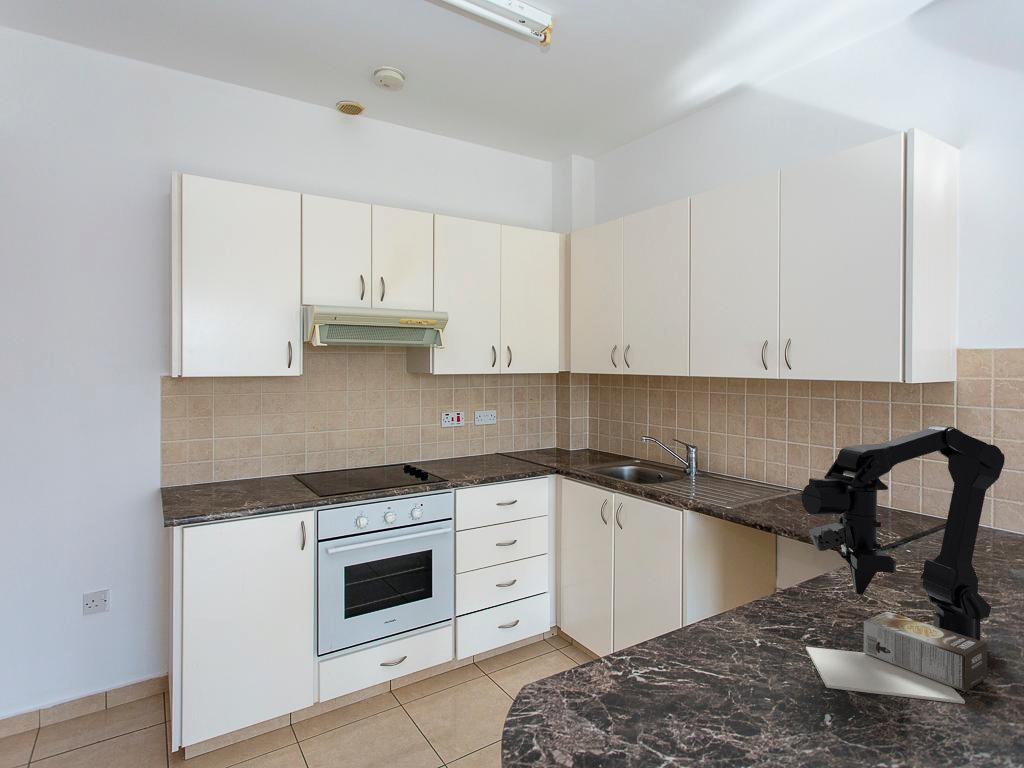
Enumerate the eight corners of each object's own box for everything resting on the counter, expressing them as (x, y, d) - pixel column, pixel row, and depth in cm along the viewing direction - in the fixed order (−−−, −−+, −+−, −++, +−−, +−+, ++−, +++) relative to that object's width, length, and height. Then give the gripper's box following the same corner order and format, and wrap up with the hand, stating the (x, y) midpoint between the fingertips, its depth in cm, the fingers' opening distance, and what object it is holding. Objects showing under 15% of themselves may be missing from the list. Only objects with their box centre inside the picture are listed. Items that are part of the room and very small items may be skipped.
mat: (925, 661, 106) (925, 659, 106) (964, 703, 92) (964, 700, 92) (805, 649, 110) (805, 646, 110) (826, 687, 97) (826, 684, 97)
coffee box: (886, 609, 112) (988, 641, 99) (886, 642, 112) (988, 678, 99) (862, 620, 107) (966, 655, 94) (862, 654, 107) (966, 694, 94)
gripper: (801, 500, 122) (801, 574, 122) (827, 522, 103) (826, 608, 104) (860, 503, 119) (860, 578, 119) (897, 526, 101) (896, 614, 101)
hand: (859, 593), depth 111 cm, fingers closed
